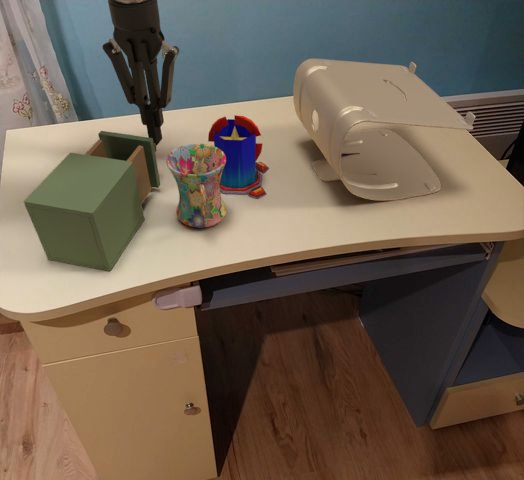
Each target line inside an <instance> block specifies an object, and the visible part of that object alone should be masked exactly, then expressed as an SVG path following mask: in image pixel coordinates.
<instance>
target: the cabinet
mask: <svg viewBox="0 0 524 480" xmlns="http://www.w3.org/2000/svg"><path fill="white" fill-rule="evenodd" d="M23 203H24V206H25V209H26V210H27V213H28V216H29V218H30V220H31V222H32V225H33V228H34V230H35V232H36V235H37V237H38V240H39V242H40V244H41V247H42V249H43V251H44V253H45V256H46V258H47V260H49V261H54V262H58V263H64V264H70V265H75V266H81V267H86V268H92V269H96V270H102V271H107V272H111V271H112V270H113V268H114V266H115V265H116V264H117V262H118V261H119V259H120V258H121V256H122V254H123V253H124V251H125V250H126V248H127V247H128V245H129V244H130V242H131V241H132V239H133V238H134V236H135V235H136V233H138V230H139V229H140V228H141V226H142V224H143V223H144V221H145V219H146V218H145V215H144V209H143V203H142V204H141V199H140V195H139V190H138V185H137V180H136V175H135V171H134V165H133V162H130V161H123V160H117V159H110V158H103V157H97V156H90V155H85V153H84V154H83V153H76V152H69V153H68V154H67V155H66V156H65V157H64V158H63V159H62V160H61V162H60V163H59V164H58V165H57V166H55V167H54V168H53V170H52V171H51V172H50V173H49V174H48V175H47V176H46V177H45V178H44V179H43V181H42V182H41V183H39V185H37V187H35V188H34V190H32V192H31V193H29V195H28V196H27V197H26V198H25V199H24V201H23Z"/></svg>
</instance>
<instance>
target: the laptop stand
mask: <svg viewBox="0 0 524 480" xmlns="http://www.w3.org/2000/svg"><path fill="white" fill-rule="evenodd" d="M416 69H417V64H416V63H415V62H413V61H410V63H409V66H408V67H407V66H405V65H399V64H386V63H376V62H375V63H374V62H362V61H349V60H338V59H337V60H336V59H328V58H327V59H326V58H325V59H324V58H308V59H305V60H303V62H301V63H300V65H298V67H297V69H296V71H295V75H294V79H293V88H292V98H293V107H294V111H295V113H296V116H297V118H298V120H299V121H300V123H301V124H302V126H303V128H305V130H306V132H307V133H308V134H309V135H310V138H311V139H312V140H313V142H314V143H315V145H316V146H317V148H318V149H319V150H320V152H321V153H322V155H323V156H324V158H322V159H318V160H314V161H312V163H311V167H312V169H313V170H314V172H315V174H316V175H317V177H318V178H319V179H320V180H321V181H322V182H327V183H329V182H336V181H341V183H343V185H344V186H345V188H346V189H347V191H349V192H350V193H351V194H353V195H354V196H356V197H358V198H362V199H365V200H370V201H371V200H372V201H382V202H383V201H398V200H404V199H410V198H414V197H416V198H417V197H422V196H427V195H431V194H435V193H438V192H440V190H441V188H442V184H441V182H440V179H439V177H438V176H437V175H436V173H435V171H434V170H433V169H432V167H431V165H429V163H428V162H427V161H426V159H424V157H423V156H422V155H421V154H420V153H419V152H418V151H417V150H416V149H415V148H414V147H413V146H412V145H411V144H410V143H409V142H408V141H407V140H405V139H404V138H403V137H401V135H399V134H397V133H396V132H394V131H393V130H390V129H388V128H372V129H371V128H370V129H364V130H356V131H350V130H351V129H352V128H353V127H355V126H356V125H358V124H362V123H372V124H375V123H376V124H385V125H386V124H387V125H398V126H399V125H400V126H411V127H413V126H414V127H424V128H425V127H427V128H439V129H450V130H451V129H453V130H462V131H463V130H464V131H465V130H466V131H473V129H474V126H473V123H474V121H475V119H476V115H475V114H474V113H473V112H472V111H467V112H466V115H465V117H463V115H461V114H460V113H459V112H458V111H456V109H454V108H453V107H452V106H451V105H450V104H449V103H448V102H446V100H444V99H443V98H442V97H441V96H439V94H438V93H436V92H435V91H434V90H433V89H432V88H431V87H430V86H429V85H427V83H425V82H424V81H423V80H422V79H421V78H420V77H418V75H416V74H415V72H416ZM314 111H315V112H316V114H317V123H318V124H317V130H316V128H315V125H314V119H313V115H314Z"/></svg>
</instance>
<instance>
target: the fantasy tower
mask: <svg viewBox="0 0 524 480" xmlns="http://www.w3.org/2000/svg"><path fill="white" fill-rule="evenodd" d="M233 117H234V118H233V119H232V118H227V117H226V116H223V117H219V118H218V119H216V121H214V123H212V124H211V127H210V129H209V132H208V137H207V138H208V139H207V142H212V143H213V146H215V147H217V148H219V149H220V150H222V151H223V152H224V154H225V156H226V164H225V166H224V168H223V171H222V174H221V179H220V195H221V194H223V195H245V196H246V195H247V196H248V197H250V198H254V199H257V200H258V199H260V198H263V197H265V196H266V195H267V192H266V191H265V189H264V188H263V187H262V182H263V174H264V173H266V172H267V171H268V170H269V169H270V168H269V166H268V165H267V164H266V163H264V162H262V161H257V160H258V159H259V158H260V155H261V154H262V149H263V143H257V137H260V136H262V134H261V131H260V129H259V127H258V126H257V125H256V123H255V122H254V121H253V120H252V119H250V118H249V117H246V116H244V115H238V114H237V115H236V114H235V115H234V116H233Z"/></svg>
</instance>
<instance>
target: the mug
mask: <svg viewBox="0 0 524 480" xmlns="http://www.w3.org/2000/svg"><path fill="white" fill-rule="evenodd" d="M165 162H166V163H165V164H166V166H167V168H168V170H169V171H170V173H171V174H172V176H173V178H174V180H175V183H176V187H177V190H178V195H179V196H178V197H179V198H178V199H179V200H178V204H177V205H178V206H177V208H176V211H175V212H176V216H177V218H178V221H180V222H181V223H183V224H184V225H186V226H188V227H192V228H208V227H213V226H215V225H218V224H219V223H221V222H222V221H223V220H224V219H225V217H226V215H227V206H226V204H225V203H224V201H223V199H222V196H221V194H220V193H221V192H220V179H221V174H222V171H223V168H224V166H225V164H226V156H225V154H224V152H223V151H222V150H220V149H219V148H217V147H215V146H214V145H212V144H208V143H189V144H184V145H181V146H178V147H176V148H174V149H173V150H171V151H170V152H169V153H168V155H167V157H166V161H165Z"/></svg>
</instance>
